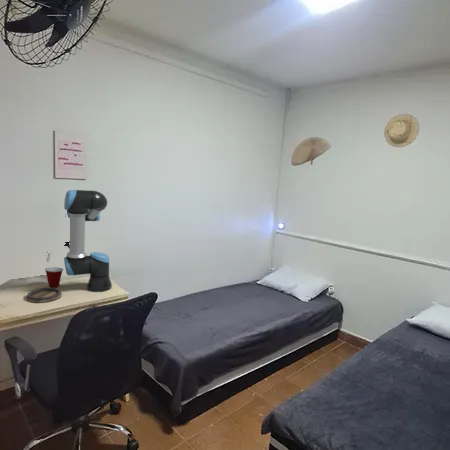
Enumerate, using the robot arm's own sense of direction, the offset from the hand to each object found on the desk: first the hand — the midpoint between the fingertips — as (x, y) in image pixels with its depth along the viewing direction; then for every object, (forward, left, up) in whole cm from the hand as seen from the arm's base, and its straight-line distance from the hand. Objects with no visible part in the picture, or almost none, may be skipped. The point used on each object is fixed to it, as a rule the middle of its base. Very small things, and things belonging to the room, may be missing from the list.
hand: (58, 261), depth 220 cm
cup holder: (-2, +25, -15) cm, 29 cm away
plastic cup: (0, +7, -15) cm, 17 cm away
